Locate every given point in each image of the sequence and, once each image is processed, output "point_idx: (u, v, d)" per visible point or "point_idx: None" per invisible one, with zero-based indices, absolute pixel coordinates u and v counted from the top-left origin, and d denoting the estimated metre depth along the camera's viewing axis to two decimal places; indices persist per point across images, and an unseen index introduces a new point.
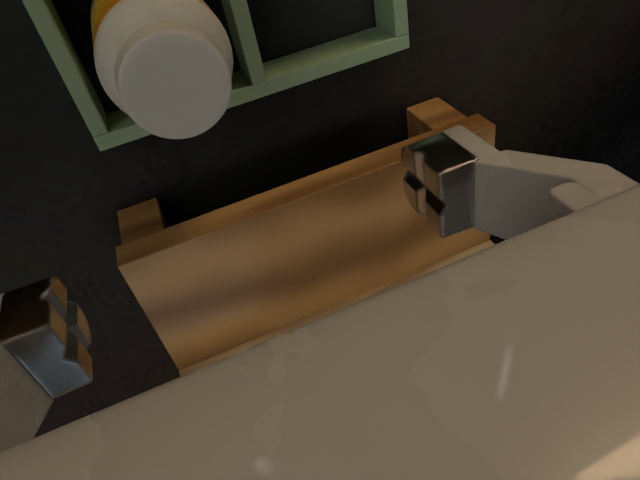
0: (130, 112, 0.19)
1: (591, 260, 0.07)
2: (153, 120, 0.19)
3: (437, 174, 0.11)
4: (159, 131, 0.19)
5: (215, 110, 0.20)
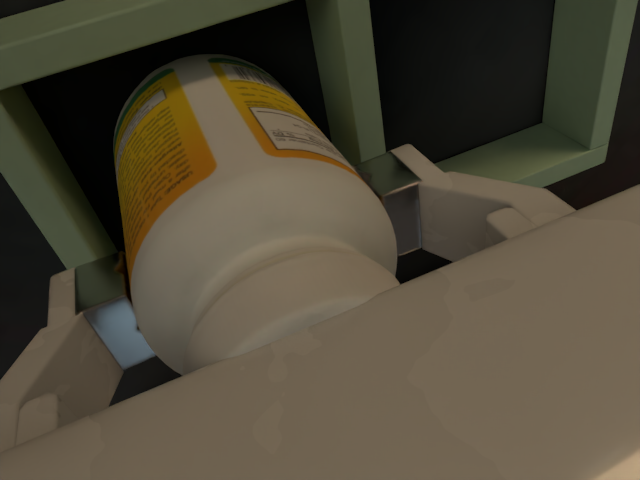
0: None
1: (591, 260, 0.07)
2: None
3: (379, 196, 0.11)
4: None
5: None
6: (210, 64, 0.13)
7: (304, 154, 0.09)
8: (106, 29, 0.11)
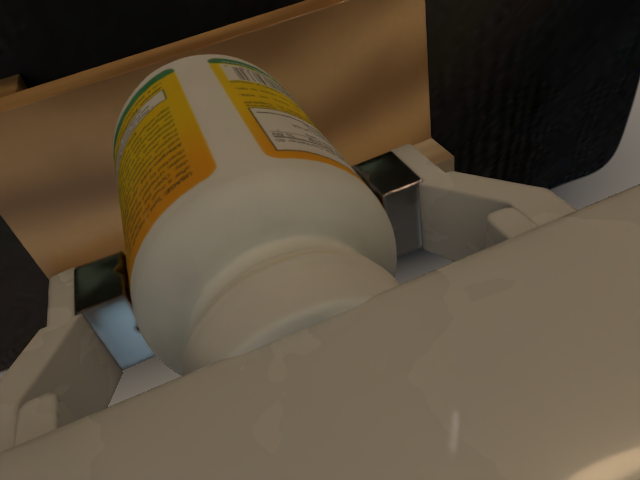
0: None
1: (591, 260, 0.07)
2: None
3: (380, 196, 0.11)
4: None
5: None
6: (210, 64, 0.13)
7: (304, 156, 0.09)
8: None
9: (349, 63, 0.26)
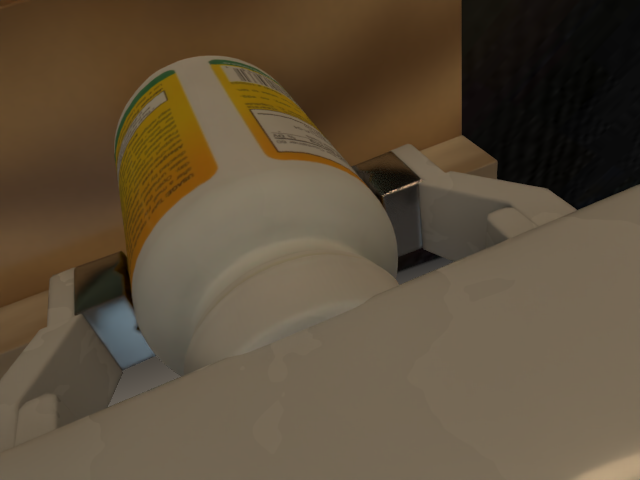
0: None
1: (591, 260, 0.07)
2: None
3: (380, 196, 0.11)
4: None
5: None
6: (211, 66, 0.13)
7: (305, 157, 0.09)
8: None
9: (345, 18, 0.17)
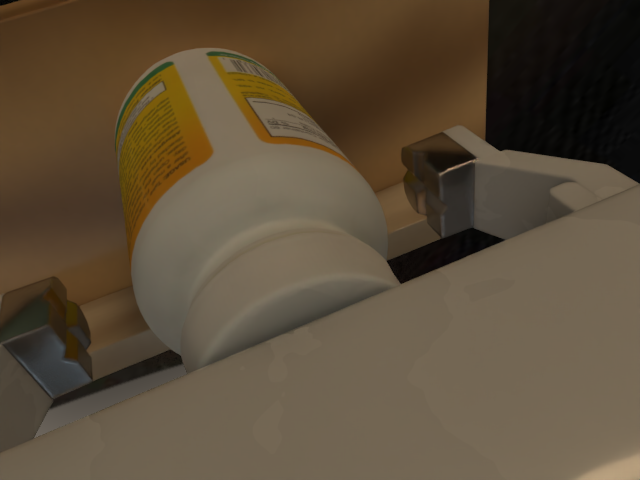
0: None
1: (591, 260, 0.07)
2: None
3: (437, 174, 0.11)
4: None
5: None
6: (209, 57, 0.13)
7: (297, 141, 0.10)
8: None
9: (366, 30, 0.16)
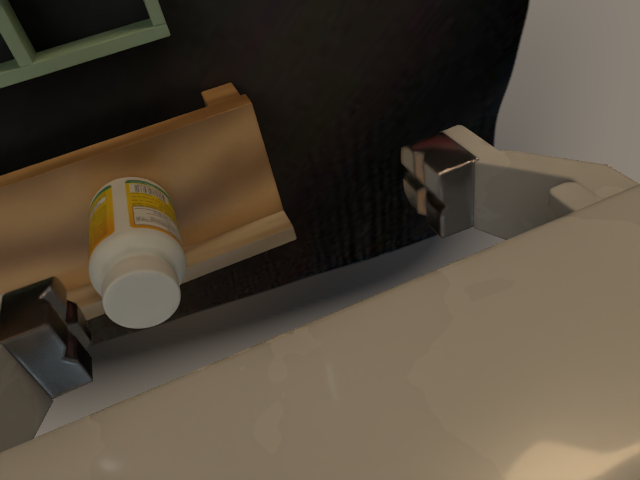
0: (111, 317, 0.28)
1: (591, 260, 0.07)
2: (127, 319, 0.28)
3: (437, 174, 0.11)
4: (131, 325, 0.29)
5: (170, 309, 0.29)
6: (125, 184, 0.33)
7: (143, 226, 0.29)
8: None
9: (203, 163, 0.35)
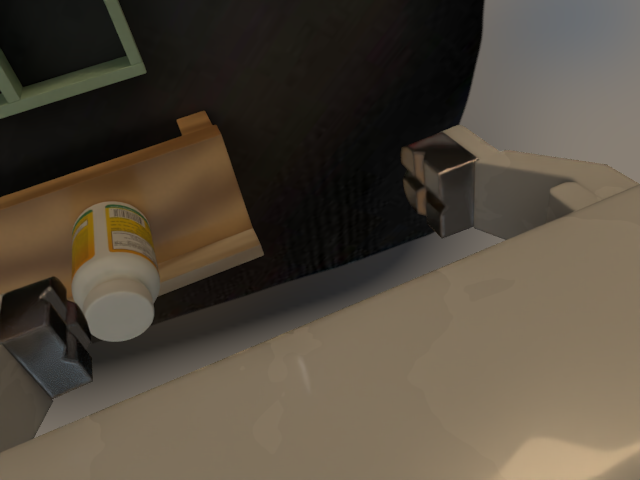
0: (92, 332, 0.31)
1: (591, 260, 0.07)
2: (106, 334, 0.32)
3: (437, 174, 0.11)
4: (110, 339, 0.32)
5: (144, 324, 0.32)
6: (105, 208, 0.36)
7: (121, 250, 0.33)
8: None
9: (177, 187, 0.39)
